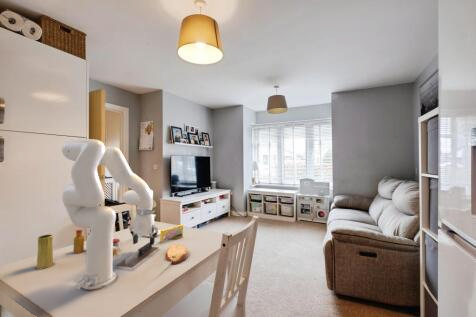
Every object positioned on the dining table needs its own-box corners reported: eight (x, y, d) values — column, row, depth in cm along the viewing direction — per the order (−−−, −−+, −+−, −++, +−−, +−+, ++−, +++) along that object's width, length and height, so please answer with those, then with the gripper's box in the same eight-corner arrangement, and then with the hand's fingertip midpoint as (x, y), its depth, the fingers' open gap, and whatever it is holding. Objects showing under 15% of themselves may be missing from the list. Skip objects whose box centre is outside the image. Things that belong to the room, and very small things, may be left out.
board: (132, 270, 102) (132, 267, 102) (115, 268, 104) (115, 265, 104) (159, 249, 126) (159, 247, 126) (144, 248, 127) (144, 246, 127)
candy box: (161, 244, 133) (161, 230, 134) (159, 243, 135) (159, 230, 135) (183, 237, 146) (183, 224, 146) (181, 236, 148) (181, 224, 148)
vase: (33, 269, 102) (33, 239, 102) (41, 263, 108) (41, 234, 108) (48, 268, 103) (49, 237, 103) (55, 262, 109) (56, 233, 109)
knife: (127, 265, 104) (127, 259, 104) (123, 265, 104) (123, 258, 104) (151, 248, 125) (151, 242, 125) (148, 247, 125) (148, 242, 125)
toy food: (70, 253, 120) (71, 231, 120) (92, 244, 132) (92, 224, 132) (108, 260, 112) (109, 236, 112) (128, 250, 124) (128, 229, 124)
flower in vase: (164, 234, 151) (164, 198, 151) (150, 239, 141) (150, 200, 141) (152, 231, 158) (152, 196, 158) (137, 235, 148) (138, 198, 148)
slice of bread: (176, 246, 131) (176, 239, 131) (199, 252, 122) (199, 246, 122) (150, 257, 116) (150, 250, 116) (174, 265, 107) (174, 258, 107)
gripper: (126, 212, 117) (124, 245, 116) (155, 214, 114) (154, 247, 114) (134, 210, 125) (133, 240, 124) (163, 211, 122) (161, 243, 121)
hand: (143, 244), depth 119 cm, fingers open, 9 cm apart
